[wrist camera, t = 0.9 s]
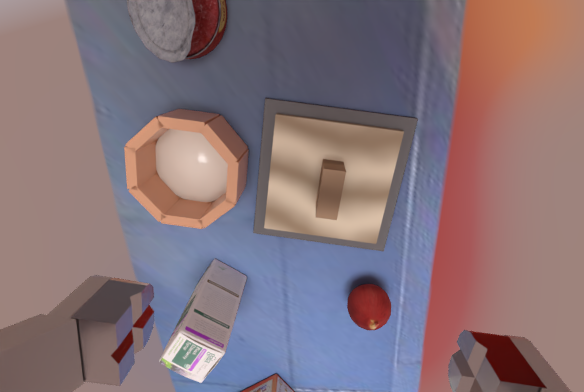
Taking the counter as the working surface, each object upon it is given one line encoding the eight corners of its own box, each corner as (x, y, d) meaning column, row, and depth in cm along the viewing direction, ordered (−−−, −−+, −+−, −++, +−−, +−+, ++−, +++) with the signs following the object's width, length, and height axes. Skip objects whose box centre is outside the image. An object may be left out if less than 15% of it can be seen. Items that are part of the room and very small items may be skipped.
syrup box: (214, 256, 49) (176, 330, 36) (249, 276, 50) (224, 355, 36) (197, 283, 51) (154, 363, 38) (231, 301, 52) (201, 386, 38)
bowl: (148, 104, 41) (121, 111, 36) (251, 118, 41) (240, 127, 36) (151, 199, 46) (129, 218, 41) (244, 212, 46) (234, 233, 40)
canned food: (216, 58, 43) (180, 100, 37) (143, 6, 41) (91, 42, 34) (255, -23, 35) (218, 13, 29) (167, -95, 33) (105, -72, 26)
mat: (266, 98, 40) (265, 98, 40) (416, 118, 40) (418, 118, 39) (254, 230, 47) (253, 232, 46) (382, 248, 47) (383, 251, 46)
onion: (383, 305, 50) (395, 347, 43) (344, 304, 51) (349, 346, 43) (386, 272, 48) (399, 311, 41) (346, 271, 48) (351, 310, 41)
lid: (276, 113, 40) (271, 120, 36) (402, 130, 40) (413, 139, 35) (265, 224, 46) (259, 243, 41) (375, 240, 46) (381, 260, 41)
